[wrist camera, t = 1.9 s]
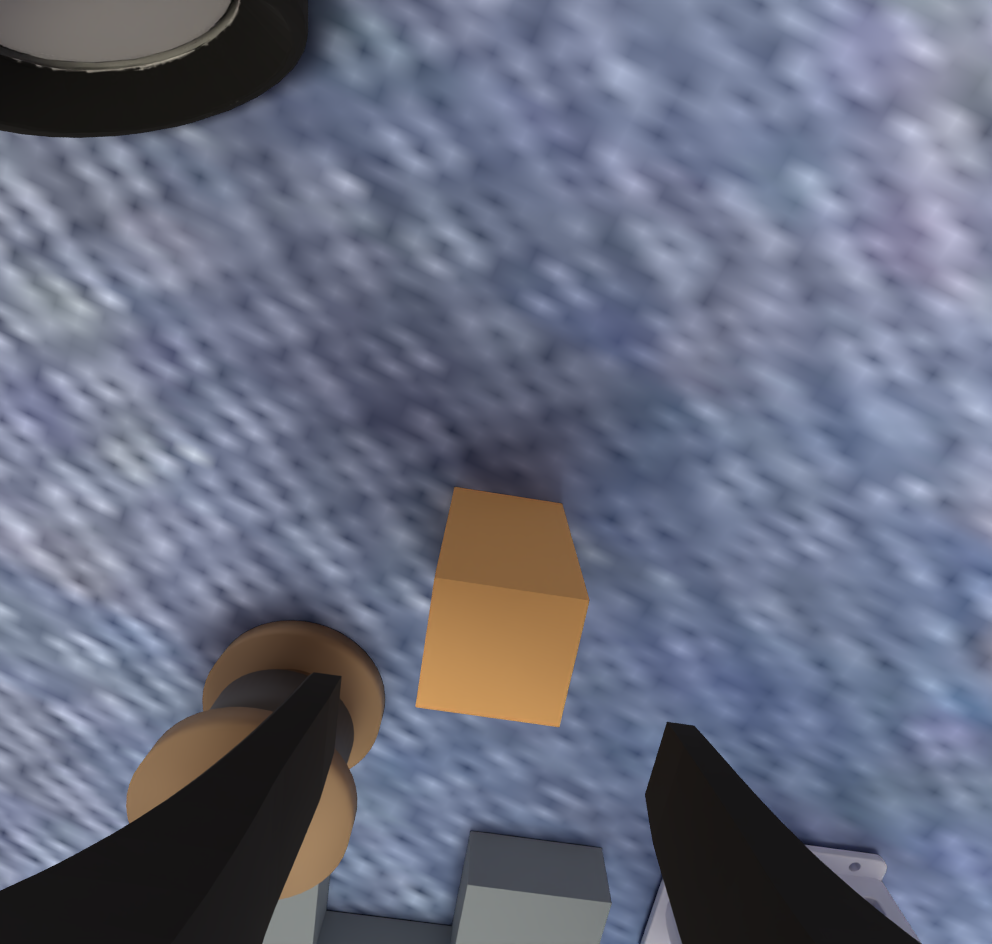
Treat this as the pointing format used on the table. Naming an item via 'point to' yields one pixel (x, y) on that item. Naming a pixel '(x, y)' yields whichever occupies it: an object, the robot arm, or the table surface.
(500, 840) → the notched board
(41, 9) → the portable speaker
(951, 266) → the table surface
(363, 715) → the bobbin post
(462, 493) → the orange rectangular block
